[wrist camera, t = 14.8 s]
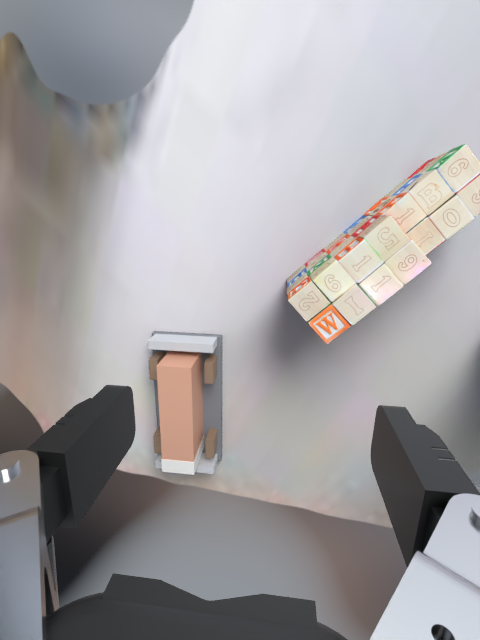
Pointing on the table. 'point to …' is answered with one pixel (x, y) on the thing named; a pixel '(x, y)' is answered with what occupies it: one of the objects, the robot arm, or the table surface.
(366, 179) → the table surface
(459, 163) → the stack of blocks
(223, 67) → the table surface
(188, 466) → the peach lotion tube
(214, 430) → the cradle jig
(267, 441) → the table surface
